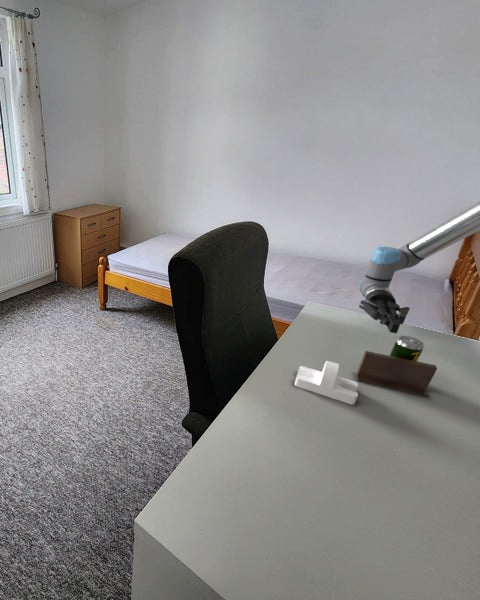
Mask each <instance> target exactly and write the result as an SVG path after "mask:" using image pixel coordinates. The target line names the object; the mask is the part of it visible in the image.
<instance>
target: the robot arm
mask: <svg viewBox="0 0 480 600" xmlns="http://www.w3.org/2000/svg"><path fill="white" fill-rule="evenodd" d="M479 231H480V201H478V202H476V203H474V204H472V205H471V206H469V207H468V208H466V209H464V210H462V211H461V212H459V213H458V214H456V215H454V216H452V217H451V218H448V219H446V221H444V222H442V223H440V224H439V225H437V226H435V227H434V228H432V229H430V230H428V231H427V232H425V233H423V234H422V235H420V236H418V237H416V238H415V239H413V240H411V241H409V242H408V243H406V244H404V245H402V246H401V247H400V248H396V247H391V246H378V247H376V248H375V249H374V250H373V253H372V255H371V256H370V261H369V264H368V266H367V270H366V273H365V275H364V278H362V279H361V281H360V282H359V286H358V287H359V291H360V293H361V295H362V297H363V299H364V300H363V299H362V300H360V303H359V306H358V308H359V309H361V310H363V311H364V312H365V313H366V314H367V315H368V316H369V317H371V319H372V320H374V321H378V320H379V324H380V325H385V326H386V327H387V329H388V331H389V333H392V334H397V333H398V331H399V329H400V326H401V325H404V322H405V320H406V318H407V316H408V314H409V312H410V309H411V308H410V307H409V306H401V307H400V305H399V304H398V303H397V300H396V298H395V296H394V295H393V293H392V291H391V290H390V285H391V282H392V280H393V277H394V275H395V272H398V271H401V270H406V269H410V268H413V267H415V266H417V265H418V264H419V263H421V262H422V261H424V260H425V259H428V258H429V257H432V256H434V255H436V254H437V253H439V252H441V251H443V250H445V249H447V248H449V247H450V246H452V245H454V244H457V243H458V242H460V241H462V240H464V239H465V238H468V237H469V236H472V235H473V234H476V233H477V232H479ZM397 312H398V313H397Z"/></svg>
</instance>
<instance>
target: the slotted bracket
mask: <svg viewBox="0 0 480 600" xmlns="http://www.w3.org/2000/svg"><path fill="white" fill-rule="evenodd" d="M339 367H340V363H337V362H334V361H330V360H325V362H324V365H323V368H322V371H320V370H317V369H314V368H310V367H307V366H304V365H300V366H299V367H298V370H297V373H296V378H295V381H294V385H295V387H297V388H300V389H303V390H307V391H310V392H312V393H315V394H318V395H322V396H324V397H328V398H331V399H334V400H336V401H339V402H343V403H346V404H349V405H355V404H356V401H357V399H358V396H359V392H357V391H358V388H359V383H358V382H356V381H355V380H351V379H347V378H345V377H340V376H337V375H338V373H339Z"/></svg>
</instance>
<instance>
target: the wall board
mask: <svg viewBox="0 0 480 600" xmlns="http://www.w3.org/2000/svg"><path fill="white" fill-rule="evenodd" d="M359 363H360V364H359V366H358V368H357V371H356V374H355V376H356V380H357V382H360V383H365V384H369V385H373V386H376V387H377V386H378V387H381V388H385V389H389V390H393V391H398V392H401V393H406V394H410V395H415V396H417V397H418V396H419V397H423V398H428V393H427V389H428V387H429V385H430V383H431V382H432V380H433V377H434V375H435V373H436V372H437V369H438V367H437V365H436V364H432V363H426V362H422V361H412V360H408V359H403V358H398V357H393V356H390V355H388V354H383V353H378V352H375V351H374V352H373V351H368V350H365V351H364V353H363V356H362V358H361V361H360V362H359Z"/></svg>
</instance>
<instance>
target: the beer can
mask: <svg viewBox="0 0 480 600" xmlns="http://www.w3.org/2000/svg"><path fill="white" fill-rule="evenodd" d="M424 345H425V342H423V341H422V340H420V339H418V338H416V337H414V336H410V335H409V336H408V335H400V336H398V338H397V339H396V340H395V342H394V345H393V347H392V349H391V352H390V354H389V356H393V357H398V358H403V359H408V360H412V361H417V362H419V359H420V357H421V354H422V353H423V350H424V348H425V347H424Z"/></svg>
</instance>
